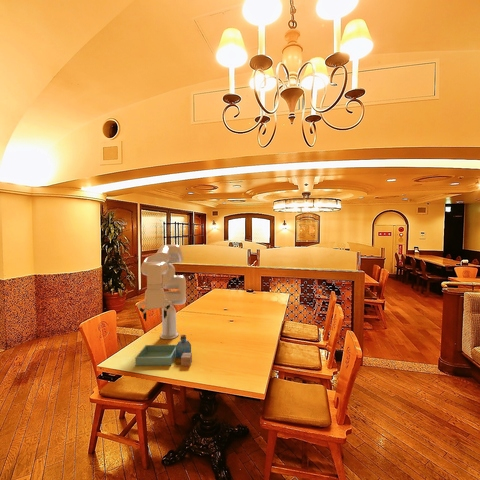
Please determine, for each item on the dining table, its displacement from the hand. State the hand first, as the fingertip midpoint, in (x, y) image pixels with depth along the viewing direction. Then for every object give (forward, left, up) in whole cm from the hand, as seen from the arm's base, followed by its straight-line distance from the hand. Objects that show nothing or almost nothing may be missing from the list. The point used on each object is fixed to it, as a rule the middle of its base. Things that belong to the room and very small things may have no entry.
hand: (155, 318), depth 134 cm
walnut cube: (-6, +15, -28) cm, 32 cm away
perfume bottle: (-15, +11, -28) cm, 33 cm away
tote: (-12, -3, -27) cm, 30 cm away
